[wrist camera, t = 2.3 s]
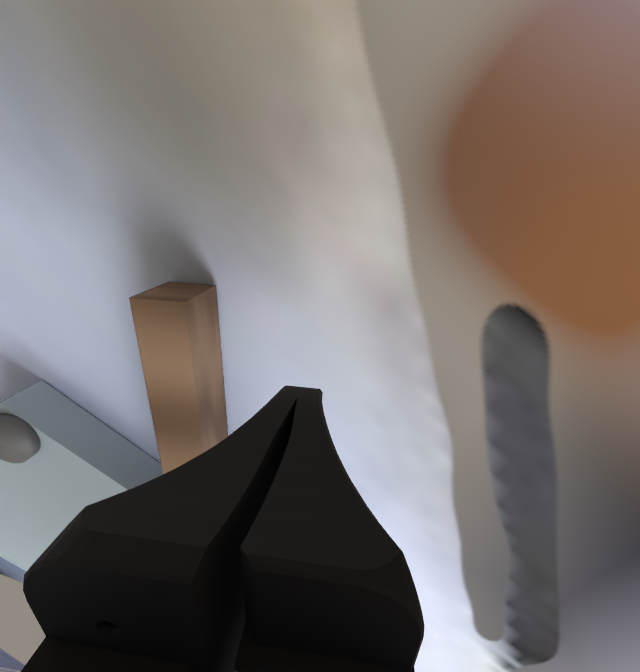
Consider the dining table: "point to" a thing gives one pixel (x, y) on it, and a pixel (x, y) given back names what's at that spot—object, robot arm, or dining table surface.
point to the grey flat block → (57, 468)
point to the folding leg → (182, 368)
